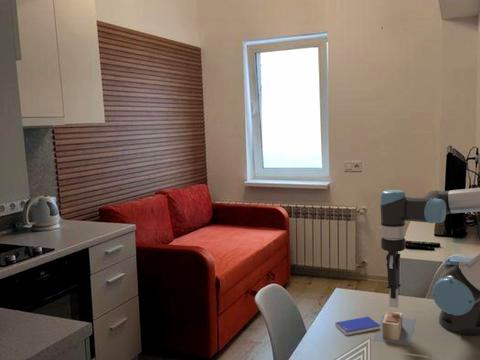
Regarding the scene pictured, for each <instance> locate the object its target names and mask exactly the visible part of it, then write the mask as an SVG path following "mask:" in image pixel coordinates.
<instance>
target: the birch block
mask: <svg viewBox="0 0 480 360" xmlns="http://www.w3.org/2000/svg"><path fill="white" fill-rule="evenodd" d="M384 316H385V317H384V320H383V323H382V331H383V338H388V339H395V340H399V338H400V334H401V331H402V327H403V322H402V318H403V312H399V311H398V312H397V311H391V310H386V313H385V314H384Z"/></svg>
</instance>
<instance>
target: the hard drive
mask: <svg viewBox="0 0 480 360" xmlns="http://www.w3.org/2000/svg"><path fill="white" fill-rule="evenodd" d="M379 324H380V323H378V322H376V321H375V319H372V318H371V317H370V316H365V317H364V316H363V317H358V318H353V319H346V320H342V321H341V320H340V321H336V322H335V326H336V328H338V329H339V330H340V331H341V332H342V333H343V334H345V336H350V335H353V334H355V335H356V334H360V333H365V332H370V331H377V329H380V325H379Z"/></svg>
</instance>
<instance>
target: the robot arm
mask: <svg viewBox="0 0 480 360" xmlns="http://www.w3.org/2000/svg"><path fill="white" fill-rule="evenodd" d="M473 212H475V213H476V212H480V187H472V188H471V187H470V188H463V189H462V188H461V189H452V190H432V191H429V192H428V193H426V194H425V195H424V196H422V197H408V196H406V193H405V191H404V190H399V189H386V190H384V191H382V192H381V194H380V226H379V227H378V229H379V230H380V233H381V234H380V236H381V239H380V243H381V244H380V245H381V246H380V247H381V250H383V251H387V254H386V257H385V259H386V269H387V283H388V285H387V286H386V288H387V289H388V291H389V293H388V298H389V301H388V303H389V304H388V305H389V306H388V307H389V308H395V309H397V308H399V287H401V283H400V280H399V279H400V262H401V261H400V260H401V253H400V252H403V251H404V250H406V238H405V237H406V222H418V223H429V224H441V223H444V222H445V221H446V216H447V215H448V214H449V215H450V214H460V213H461V214H462V213H473ZM443 265H444V272H443V273H442V274H441V275H440V277H439V278H438V279H437V280H436V281H435V283H434V285H433V288H432V293H431V294H432V298H433V300H434V303H435V304H436V305H437V307H438V308H439V309H440V310H441V311H440V312H439V316H438V323H439V325H440V326H441V327H442V328H443V329H445V330H447V331H450V332H453V333H456V334H460V335H464V336H465V335H467V336H479V335H480V253H478V254H477V255H476V256H475V257H466V256H465V257H464V256H449V257H446V258H445V259H444V264H443Z"/></svg>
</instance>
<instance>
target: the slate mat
mask: <svg viewBox="0 0 480 360" xmlns="http://www.w3.org/2000/svg"><path fill="white" fill-rule="evenodd" d="M384 317H385V315H382V316H381V318H380V319H381V320H380V322H379V323H378V324H379V325H380V329H376V332H375V335H374V337H373V341H375V342H376V341H377V342H383V343H391V344H397V345H404V346H411V342H412V337H413V333H414V328H415V325H416V319H414V318H405V317H402V322H403V327H402V331H401V334H400V338H399V340H395V339H388V338H383V331H382V323H383V320H384Z"/></svg>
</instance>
